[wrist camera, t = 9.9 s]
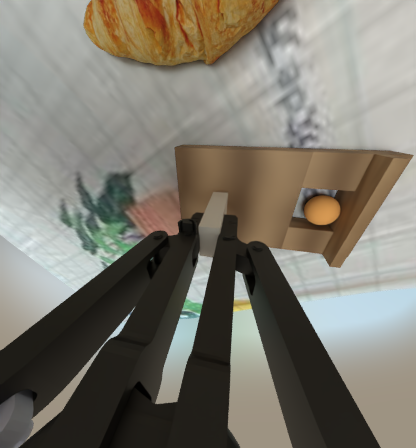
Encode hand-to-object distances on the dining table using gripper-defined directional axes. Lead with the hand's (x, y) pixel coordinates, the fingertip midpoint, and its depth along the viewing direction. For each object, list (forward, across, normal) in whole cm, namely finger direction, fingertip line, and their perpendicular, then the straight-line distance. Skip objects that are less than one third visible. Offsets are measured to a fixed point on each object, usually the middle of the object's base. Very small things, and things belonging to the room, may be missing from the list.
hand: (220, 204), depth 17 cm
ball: (+2, +11, -1) cm, 11 cm away
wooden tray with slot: (+4, +5, 0) cm, 6 cm away
